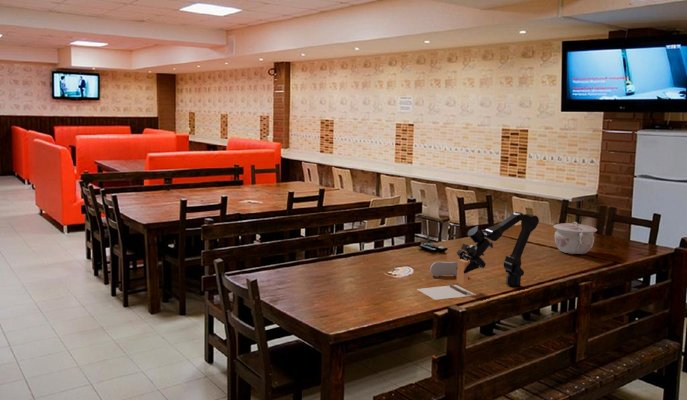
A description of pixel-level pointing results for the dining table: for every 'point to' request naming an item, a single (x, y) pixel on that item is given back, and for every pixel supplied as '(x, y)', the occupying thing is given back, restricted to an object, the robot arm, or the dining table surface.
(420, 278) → the dining table surface
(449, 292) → the mat
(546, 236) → the dining table surface
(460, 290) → the long brown bar
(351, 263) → the dining table surface
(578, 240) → the chamber pot
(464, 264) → the orange block
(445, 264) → the grey rounded panel
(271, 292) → the dining table surface
